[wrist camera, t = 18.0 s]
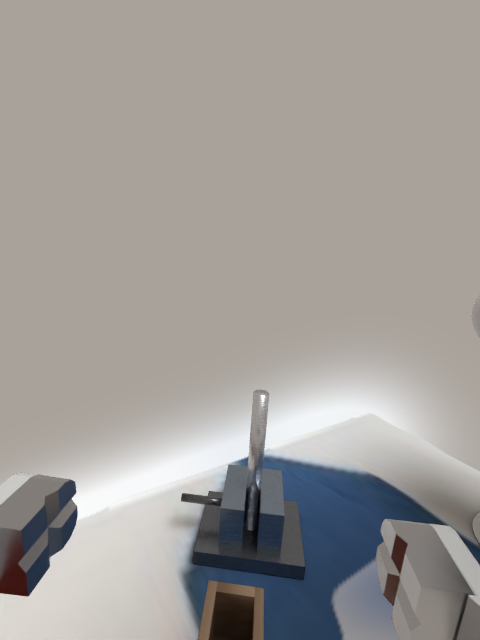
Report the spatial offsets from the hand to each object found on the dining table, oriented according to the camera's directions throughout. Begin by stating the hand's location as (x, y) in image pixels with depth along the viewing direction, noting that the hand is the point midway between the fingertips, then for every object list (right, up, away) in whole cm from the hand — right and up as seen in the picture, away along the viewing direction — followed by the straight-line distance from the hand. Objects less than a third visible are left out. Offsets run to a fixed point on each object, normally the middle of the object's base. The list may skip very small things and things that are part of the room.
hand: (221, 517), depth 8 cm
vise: (0, -26, +34) cm, 43 cm away
